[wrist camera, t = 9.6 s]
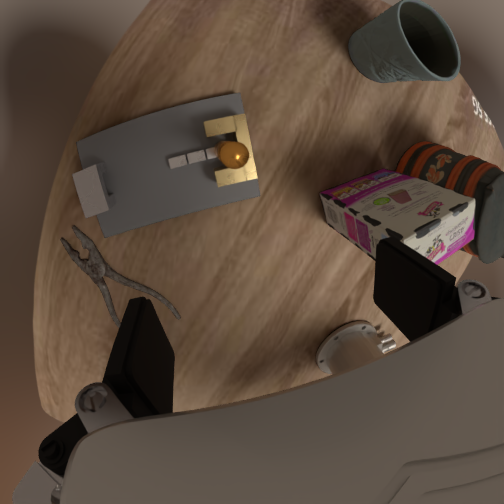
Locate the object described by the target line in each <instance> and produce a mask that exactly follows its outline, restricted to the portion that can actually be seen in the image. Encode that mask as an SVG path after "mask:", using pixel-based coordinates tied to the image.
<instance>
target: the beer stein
mask: <svg viewBox="0 0 504 504" xmlns="http://www.w3.org/2000/svg"><path fill="white" fill-rule="evenodd" d="M396 172H398V173H402V174H405V175H409V176H412V177H415V178H418V179H421V180H424V181H428V182H431V183H433V184H436V185H439V186H442V187H445V188H448V189H450V190H453V191H456V192H458V193H461V194H464V195H466V196H469V197H471V198H475V230H474V239H473V240H472V241H470V242H469V243H467V244H466V245H465V246H463V247H462V248H461V249H459V250H462V251H465V252H467V253H469V254H471V255H474V256H476V257H478V258H479V260H481V261H482V262H483V263H486V264H489V263H492V262H494V261H495V260H497V259H498V258H500V257H502V258H504V172H503V171H501V169H500V168H499V167H498V166H496V165H493V164H491V163H488V162H487V161H484V160H482V159H480V158H477V157H475V156H471V155H470V156H465V155H462V154H460V153H457V152H455V151H453V150H452V149H450V148H448V147H445V146H442V145H439V144H435V143H431V142H420V143H417V144H415V145H413V146H412V147H411V148H410V149H409V150H407V151H406V152H405V153H404V155H403V156H402V157H401V159H400V161H399V163H398V166H397V168H396Z"/></svg>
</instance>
